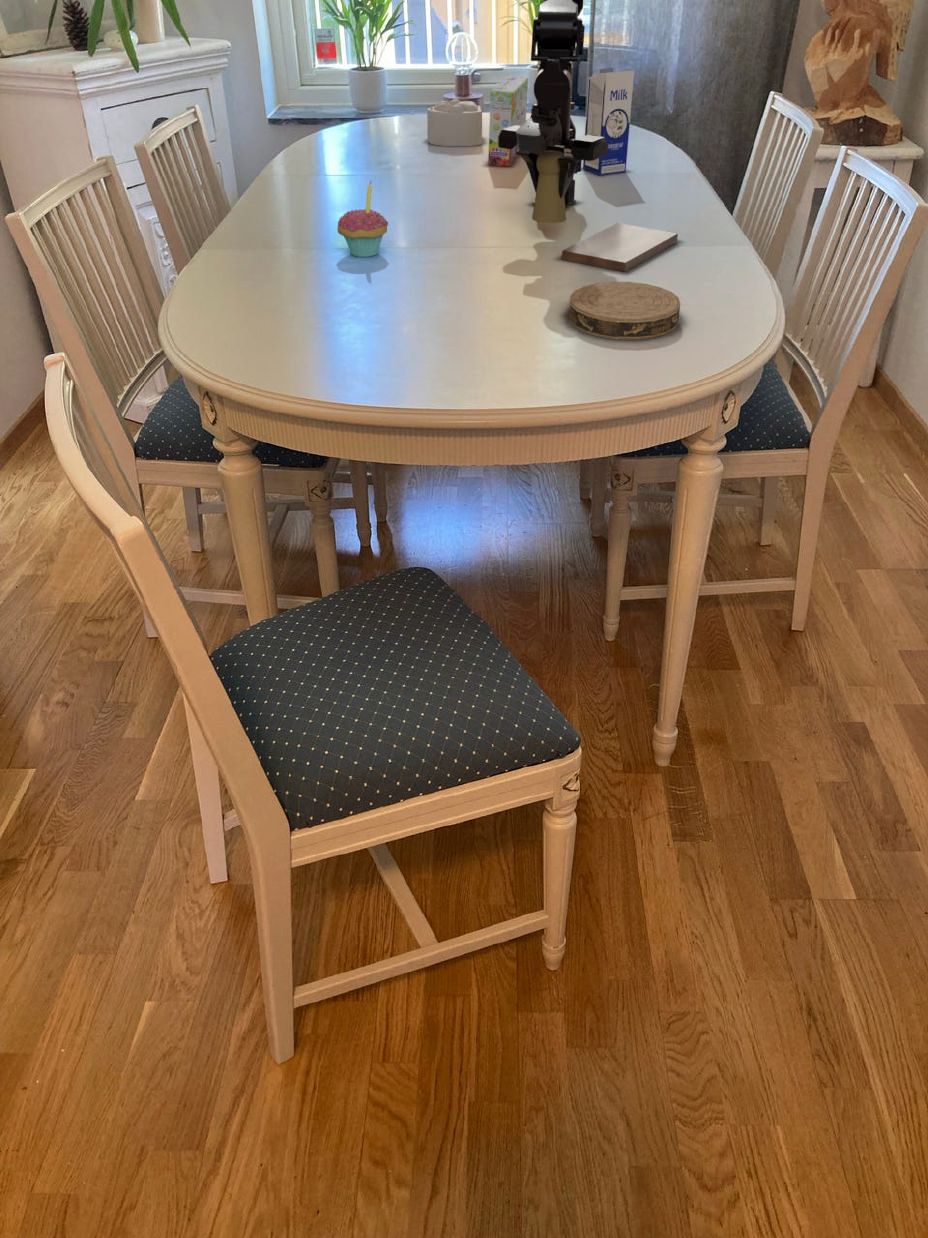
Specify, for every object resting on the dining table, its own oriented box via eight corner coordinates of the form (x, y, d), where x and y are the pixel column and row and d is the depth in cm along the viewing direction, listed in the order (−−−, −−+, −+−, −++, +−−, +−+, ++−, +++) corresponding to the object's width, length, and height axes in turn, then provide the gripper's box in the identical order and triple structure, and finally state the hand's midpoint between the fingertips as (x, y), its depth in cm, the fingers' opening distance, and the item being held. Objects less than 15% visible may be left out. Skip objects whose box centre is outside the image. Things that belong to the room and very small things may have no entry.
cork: (529, 213, 186) (531, 147, 179) (563, 212, 186) (566, 147, 179) (534, 223, 181) (536, 156, 174) (568, 222, 181) (572, 155, 174)
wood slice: (602, 346, 144) (604, 325, 142) (549, 310, 156) (550, 290, 154) (699, 329, 149) (702, 308, 147) (641, 295, 161) (643, 276, 159)
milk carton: (599, 175, 223) (606, 71, 211) (582, 168, 228) (588, 66, 216) (626, 171, 225) (635, 68, 214) (609, 165, 230) (616, 64, 219)
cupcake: (396, 248, 181) (393, 175, 174) (377, 262, 174) (373, 187, 167) (351, 243, 183) (346, 171, 176) (330, 257, 177) (324, 183, 170)
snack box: (512, 167, 229) (513, 91, 220) (487, 166, 230) (488, 90, 221) (526, 146, 246) (529, 75, 237) (503, 145, 247) (504, 74, 238)
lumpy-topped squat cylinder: (482, 145, 247) (482, 105, 242) (427, 146, 246) (427, 106, 241) (480, 136, 255) (480, 97, 250) (427, 137, 255) (426, 98, 250)
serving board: (561, 259, 176) (561, 250, 175) (616, 231, 189) (617, 222, 188) (624, 271, 170) (625, 262, 169) (677, 242, 183) (678, 233, 183)
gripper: (480, 98, 171) (479, 197, 180) (579, 110, 162) (573, 214, 171) (516, 88, 178) (513, 184, 187) (613, 99, 169) (605, 199, 179)
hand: (549, 195), depth 181 cm, fingers closed on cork, 4 cm apart
